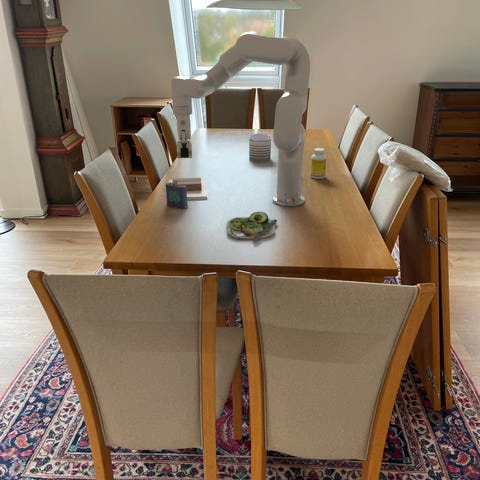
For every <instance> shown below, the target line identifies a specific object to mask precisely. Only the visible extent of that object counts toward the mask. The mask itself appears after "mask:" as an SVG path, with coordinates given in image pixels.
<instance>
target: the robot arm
mask: <svg viewBox="0 0 480 480" xmlns="http://www.w3.org/2000/svg"><path fill="white" fill-rule="evenodd" d="M253 62H257V63H261V64H262V63H263V64H269V65H275V66H282V65H285V67H286V71H285V75H284V76H285V77H284V88H283V94H282V95H281V96H280V98H279V99H278V101H277V103H276V106H275V110H274V111H275V113H274V122H273V123H274V125H273V135H272V136H273V137H272V139H273V144H274V146H275V148H276V149H277V150H278V151H277V153H278V154H277V176H276V180H277V181H276V194H275V195H273V197H272V202H273V203H274V204H276V205H278V206H283V207H297V206H301V205H303V204H304V203H305V201H306V200H305V197H304V196H303V195H302V182H303V163H304V150H305V142H306V141H305V140H306V129H305V126H304V125H303V123H302V122H303V114H304V113H305V112H306V111H307V106H308V95H309V93H308V92H309V86H310V85H309V84H310V76H311V75H310V73H311V58H310V54H309V51H308V50H307V48H306V46H305V45H304V44H303V43H302V42H301V41H299V40H298V39H297V38H295V37H292V36H281V37H276V36H268V35H262V34H261V33H259V32H257V31H248V32H244V33H242V34H241V35H239V36H238V38H237V40H236V41H235V43H234V44H233V45H232V46H231V47H229V48H228V49H227V50H225V51H224V52H223V53H222V54H220V56H219V58H218V61H217V63H216V64H215V65H214V66H212V67H211V68H210V69H209V70H207V71H206V72H205V73H204V74H203V75H199V76H196V77H191V78H190V77H189V76H183V75H178V76H173V77H171V81H170V82H171V87H170V88H171V101H172V102H171V103H172V115H174V116H176V119H175V120H176V128H177V129H176V130H177V136H178V141H181V148H180V151H181V158H180V159H189V158H188V157H189V150H188V142H187V141H192V130H191V129H192V128H191V127H192V126H191V115H193V99H195V100H196V99H197V100H199V99H202V98H205V97H207V96H209V95H211V94H213V93H214V92H216V91H217V90H218V89H219V88H220V87H222V86H223V85H224V84H226V83H227V82H228V81H229V80H230V79H232V78H234V77H235V76H236V75H237V74H238V73H240V72H241V71H242V70H243V69H245V68H246V67H247V66H249V65H250V64H251V63H253ZM185 141H186V142H185Z"/></svg>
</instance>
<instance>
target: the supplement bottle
mask: <svg viewBox="0 0 480 480" xmlns="http://www.w3.org/2000/svg"><path fill="white" fill-rule="evenodd" d="M325 152H326V150H325V148H322V147H316V148H314V149H313V154H312V155H311V160H310V175H309V176H310V178H312V179H314V180H316V179H317V180H321V179H324V178H325V177H326V166H327V156H326V155H325Z"/></svg>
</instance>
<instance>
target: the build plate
mask: <svg viewBox="0 0 480 480" xmlns="http://www.w3.org/2000/svg"><path fill="white" fill-rule="evenodd" d="M172 180H173V179H169V180H168V183H170V182H171V183H172ZM201 185H202V190H201V191H187V201H190V200H191V201H192V200H193V201H194V200H208V191H207V183H206V178H201Z"/></svg>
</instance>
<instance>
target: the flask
mask: <svg viewBox="0 0 480 480" xmlns="http://www.w3.org/2000/svg"><path fill="white" fill-rule="evenodd" d="M173 182H174V183H171V182H170V183H169V182H166V183H165V193H166V196H165V197H166V206H167V207H169V208H174V209H181V210H187V209H188V208H189V207H188V206H189V205H188V200H187V187H186V186H185V185H178V184H177V182H178V181H177V180H176V181H175V180H174V181H173Z"/></svg>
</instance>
